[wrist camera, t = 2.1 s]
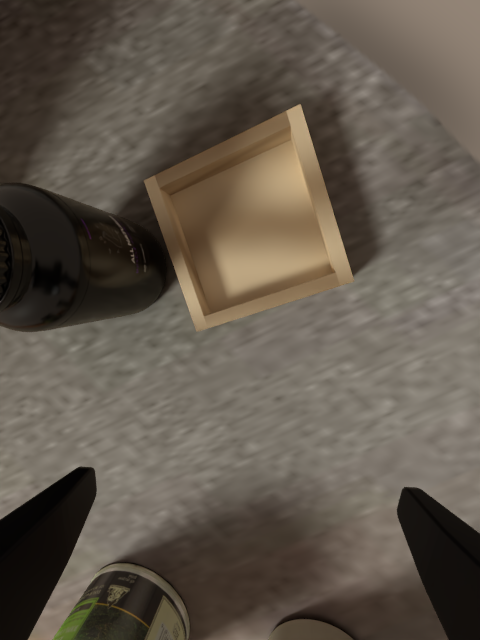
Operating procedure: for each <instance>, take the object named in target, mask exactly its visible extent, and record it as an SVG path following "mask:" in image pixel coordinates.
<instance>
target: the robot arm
mask: <svg viewBox="0 0 480 640" xmlns="http://www.w3.org/2000/svg"><path fill="white" fill-rule="evenodd" d="M96 491H97V488H96V477H95V470H94V468H92V467H78V468H76V469H75V470H73V471H72V472H70V473H69V474H67V475H66V476H64V477H63V478H61V479H60V480H58V481H57V482H55V483H54V484H52V485H51V486H50V487H48V488H47V489H45V490H44V491H42V492H41V493H39V494H38V495H36V496H35V497H33V498H32V499H30V500H29V501H27V502H26V503H24V504H23V505H21V506H20V507H18V508H17V509H15V510H14V511H12V512H11V513H9V514H8V515H7V516H5V517H4V518H2V519H1V520H0V640H28V638H29V636H30V634H31V632H32V630H33V628H34V626H35V625H36V623H37V621H38V619H39V617H40V615H41V613H42V611H43V609H44V607H45V605H46V604H47V602H48V600H49V598H50V596H51V594H52V592H53V590H54V588H55V586H56V584H57V583H58V581H59V579H60V577H61V575H62V573H63V571H64V569H65V567H66V565H67V563H68V561H69V559H70V557H71V554H72V552H73V550H74V547H75V545H76V543H77V540H78V538H79V535H80V533H81V531H82V528H83V526H84V524H85V521H86V519H87V516H88V514H89V512H90V509H91V507H92V505H93V502H94V500H95V497H96ZM397 515H398V519H399V522H400V524H401V527H402V530H403V532H404V535H405V538H406V540H407V543H408V546H409V548H410V551H411V554H412V556H413V559H414V562H415V565H416V567H417V570H418V573H419V575H420V578H421V580H422V583H423V585H424V587H425V589H426V592H427V594H428V596H429V598H430V600H431V602H432V605H433V607H434V609H435V611H436V613H437V615H438V618H439V620H440V622H441V624H442V626H443V628H444V630H445V633H446V635H447V637H448V639H449V640H480V533H478V532H477V531H476V530H474V529H473V528H472V527H470V526H469V525H468V524H466V523H465V522H464V521H462V520H461V519H460V518H458V517H457V516H456V515H454V514H453V513H452V512H450V511H449V510H448V509H446V508H445V507H444V506H442V505H441V504H440V503H438V502H437V501H436V500H434V499H433V498H432V497H430V496H429V495H428V494H427V493H425V492H424V491H423V490H421V489H419V488H415V487H404V488H403V489H402V492H401V496H400V500H399V503H398V507H397Z"/></svg>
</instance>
